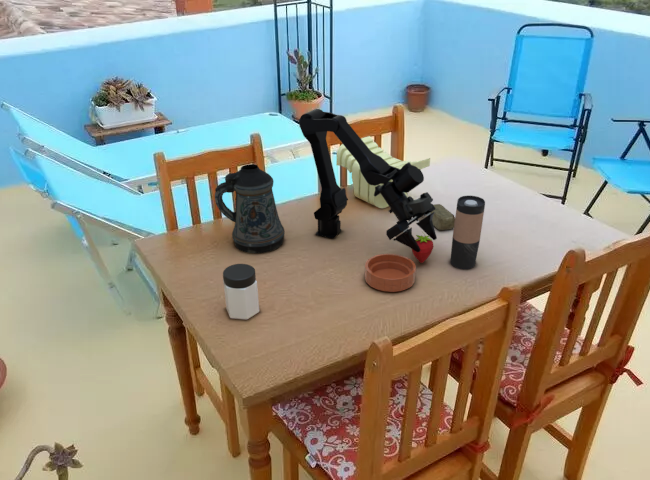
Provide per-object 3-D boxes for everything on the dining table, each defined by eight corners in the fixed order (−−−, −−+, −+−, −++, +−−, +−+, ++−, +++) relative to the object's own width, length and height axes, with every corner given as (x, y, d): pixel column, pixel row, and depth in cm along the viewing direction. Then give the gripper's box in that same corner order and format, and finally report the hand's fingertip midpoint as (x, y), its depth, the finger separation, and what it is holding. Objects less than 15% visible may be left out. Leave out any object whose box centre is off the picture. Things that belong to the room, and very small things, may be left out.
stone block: (439, 232, 189) (441, 218, 186) (422, 218, 198) (423, 204, 195) (455, 229, 190) (457, 215, 188) (437, 215, 199) (439, 201, 197)
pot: (356, 286, 162) (357, 271, 160) (375, 263, 173) (376, 249, 170) (404, 298, 157) (405, 283, 154) (421, 273, 167) (422, 259, 165)
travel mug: (477, 258, 174) (486, 197, 163) (474, 271, 168) (484, 208, 157) (451, 255, 176) (459, 193, 165) (447, 267, 170) (455, 204, 159)
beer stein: (295, 242, 184) (292, 167, 171) (243, 263, 174) (236, 184, 161) (265, 224, 195) (260, 152, 182) (214, 242, 185) (205, 168, 172)
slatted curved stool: (336, 191, 217) (336, 145, 208) (368, 181, 226) (369, 136, 216) (393, 219, 197) (396, 169, 188) (425, 206, 205) (430, 157, 196)
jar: (244, 297, 158) (240, 259, 152) (265, 308, 154) (263, 269, 147) (219, 312, 152) (214, 273, 146) (241, 324, 148) (237, 284, 142)
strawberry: (405, 264, 172) (408, 234, 166) (418, 254, 177) (421, 224, 171) (423, 270, 169) (426, 240, 163) (436, 260, 174) (439, 230, 168)
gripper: (397, 197, 156) (430, 246, 156) (432, 176, 169) (463, 221, 168) (372, 216, 165) (403, 262, 165) (407, 195, 177) (436, 237, 177)
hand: (427, 245), depth 168 cm, fingers open, 9 cm apart
